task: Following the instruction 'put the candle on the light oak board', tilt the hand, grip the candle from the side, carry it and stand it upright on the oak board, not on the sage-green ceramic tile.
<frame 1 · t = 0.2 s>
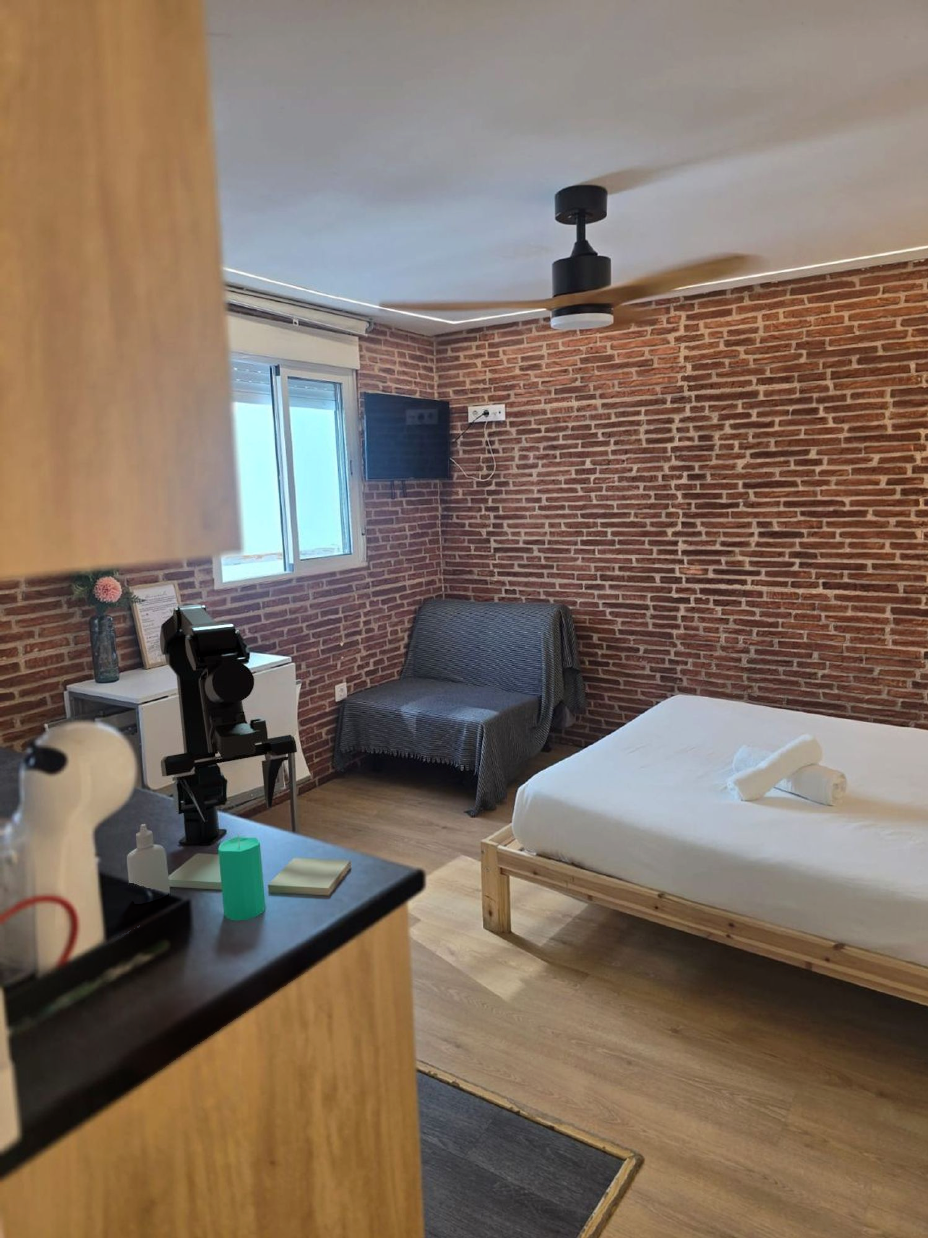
hand: (238, 814, 120), 15 cm above the counter, tool tilted 15°, fingers open, 9 cm apart
sage tile: (209, 874, 136), on the counter
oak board: (310, 879, 132), on the counter
eye dropper bottle: (150, 899, 128), on the counter
candle: (245, 911, 123), on the counter
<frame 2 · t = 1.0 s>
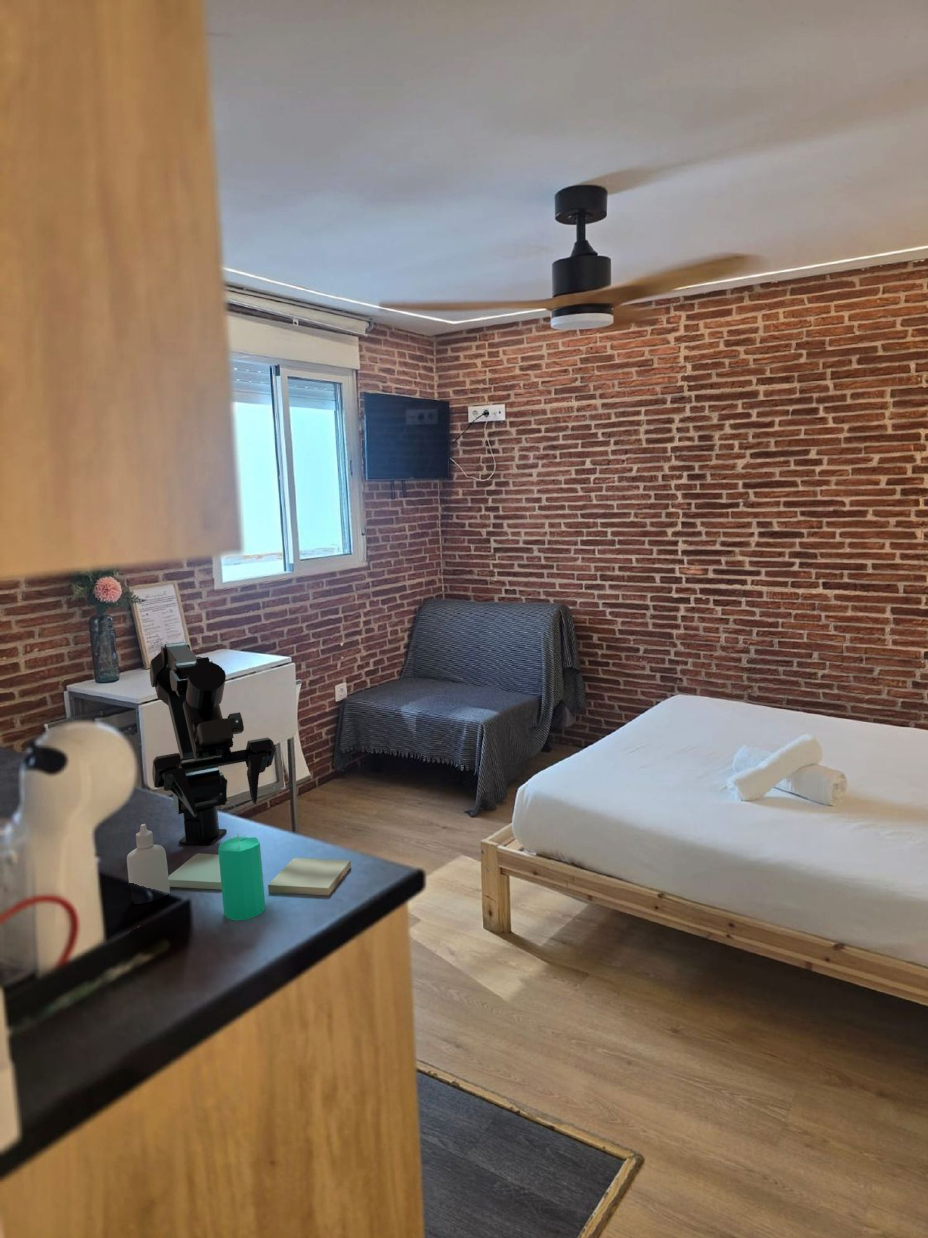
hand: (225, 809, 128), 13 cm above the counter, tool tilted 45°, fingers open, 9 cm apart
nothing on the counter moved.
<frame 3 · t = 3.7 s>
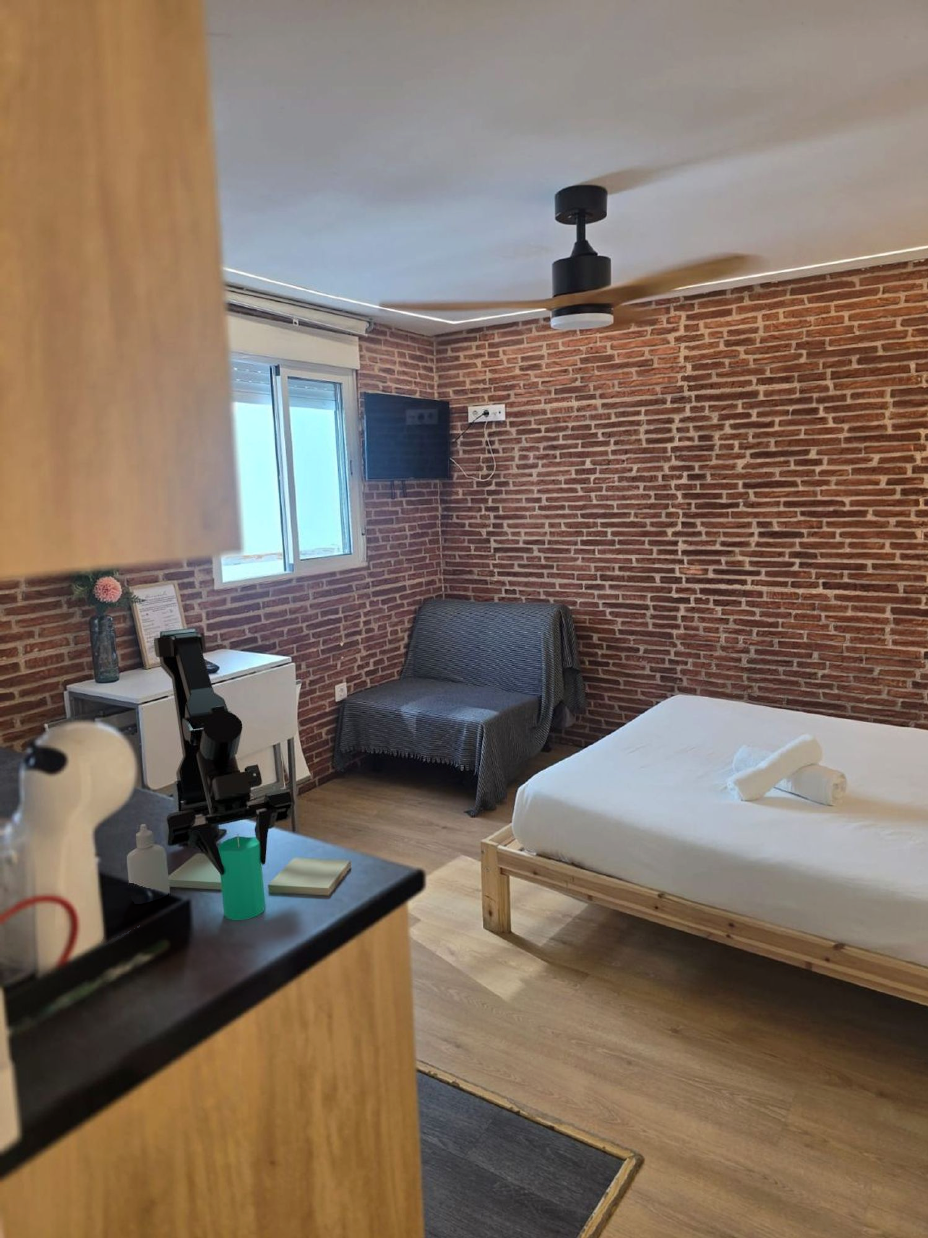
hand: (243, 868, 120), 7 cm above the counter, tool tilted 45°, fingers closed on candle, 6 cm apart
candle: (245, 911, 123), on the counter, touching gripper
everything else where it was.
when the fingers open (9 cm above the counter, at t = 7.9 s): candle stays where it is, resting on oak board.
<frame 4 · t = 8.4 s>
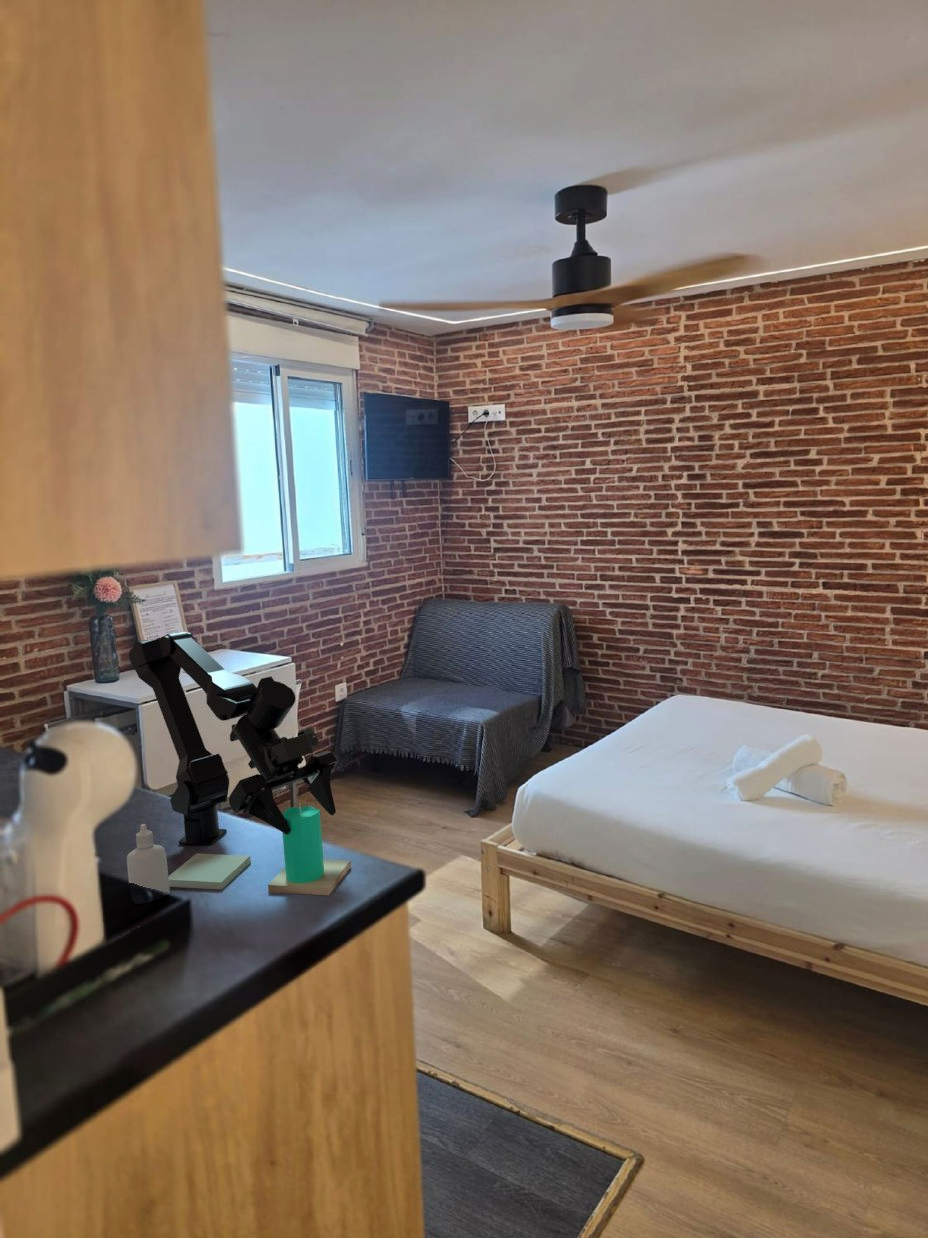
hand: (312, 823, 130), 10 cm above the counter, tool tilted 45°, fingers open, 9 cm apart
candle: (305, 876, 131), point 1 cm above the counter, touching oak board
everything else where it was.
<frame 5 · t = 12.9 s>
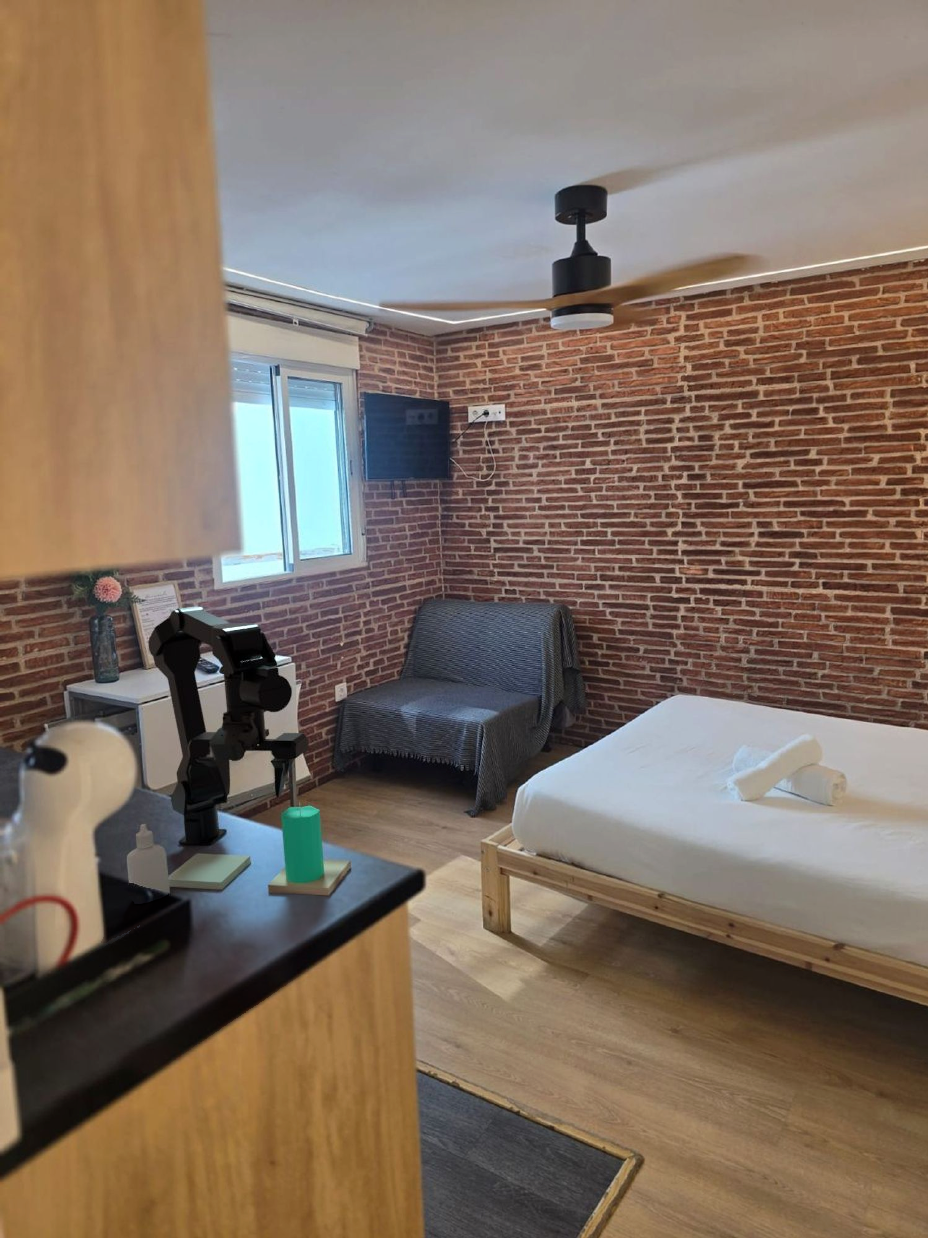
hand: (252, 796, 134), 13 cm above the counter, tool pointing down, fingers open, 9 cm apart
nothing on the counter moved.
at the end: candle 1.0 cm off-centre on the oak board, point 1.0 cm above the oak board's base; candle tilted 0°; eye dropper bottle moved 0.2 cm from its start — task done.
